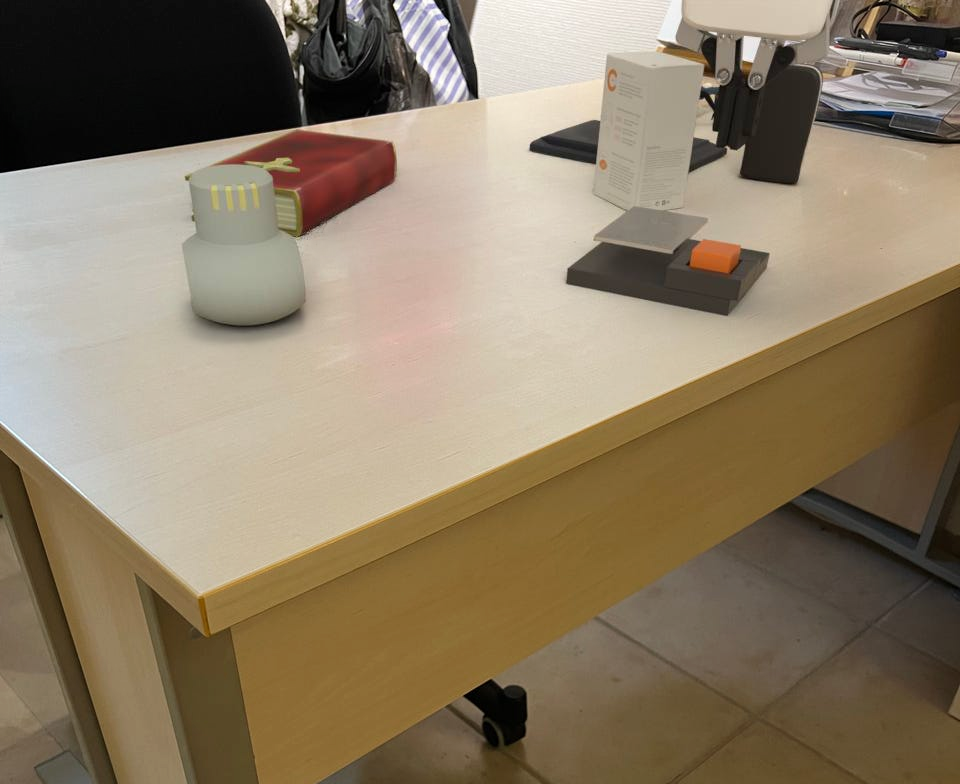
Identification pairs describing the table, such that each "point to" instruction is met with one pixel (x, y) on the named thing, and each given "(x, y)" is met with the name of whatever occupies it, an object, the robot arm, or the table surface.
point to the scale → (667, 276)
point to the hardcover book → (319, 174)
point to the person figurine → (706, 92)
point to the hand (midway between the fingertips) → (731, 144)
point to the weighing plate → (651, 230)
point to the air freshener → (240, 249)
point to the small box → (647, 129)
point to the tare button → (715, 256)
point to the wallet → (584, 145)
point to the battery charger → (784, 125)
